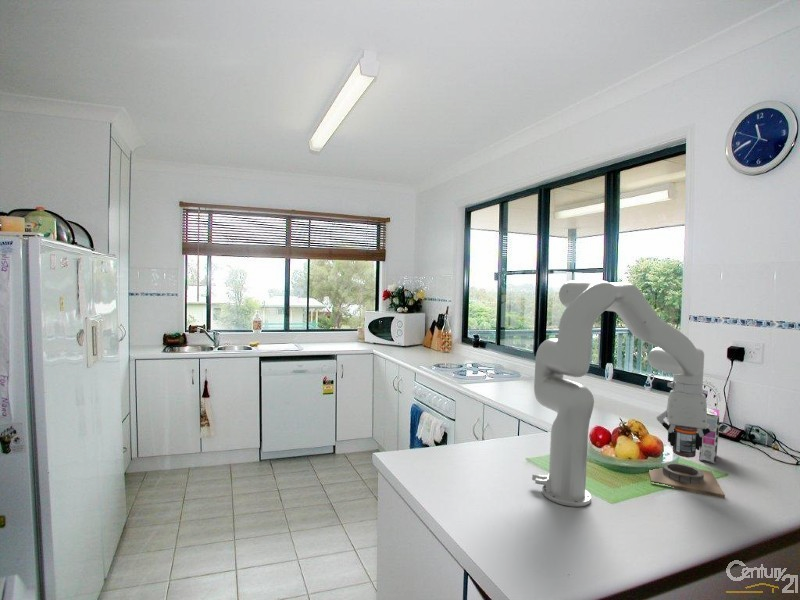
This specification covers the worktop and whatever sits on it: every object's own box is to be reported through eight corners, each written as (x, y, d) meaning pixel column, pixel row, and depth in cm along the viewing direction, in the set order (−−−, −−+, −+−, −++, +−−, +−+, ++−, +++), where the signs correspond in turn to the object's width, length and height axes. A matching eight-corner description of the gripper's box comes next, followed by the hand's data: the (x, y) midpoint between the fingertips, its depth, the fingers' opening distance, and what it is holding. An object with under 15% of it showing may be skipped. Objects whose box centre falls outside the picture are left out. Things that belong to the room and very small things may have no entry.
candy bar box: (716, 464, 149) (719, 416, 148) (698, 460, 152) (701, 413, 151) (716, 454, 158) (719, 409, 157) (699, 451, 161) (702, 406, 160)
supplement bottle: (674, 449, 140) (676, 413, 140) (696, 454, 136) (698, 417, 136) (670, 454, 135) (672, 417, 135) (694, 460, 132) (696, 422, 131)
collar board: (651, 484, 132) (651, 474, 132) (646, 462, 148) (646, 454, 148) (724, 498, 124) (725, 487, 124) (711, 474, 140) (711, 465, 140)
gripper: (656, 387, 135) (653, 445, 136) (724, 394, 128) (721, 456, 129) (653, 382, 142) (650, 438, 143) (718, 389, 135) (715, 448, 135)
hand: (684, 446), depth 136 cm, fingers closed on supplement bottle, 6 cm apart
